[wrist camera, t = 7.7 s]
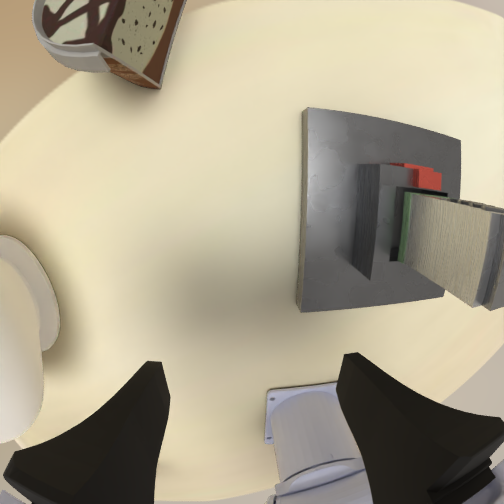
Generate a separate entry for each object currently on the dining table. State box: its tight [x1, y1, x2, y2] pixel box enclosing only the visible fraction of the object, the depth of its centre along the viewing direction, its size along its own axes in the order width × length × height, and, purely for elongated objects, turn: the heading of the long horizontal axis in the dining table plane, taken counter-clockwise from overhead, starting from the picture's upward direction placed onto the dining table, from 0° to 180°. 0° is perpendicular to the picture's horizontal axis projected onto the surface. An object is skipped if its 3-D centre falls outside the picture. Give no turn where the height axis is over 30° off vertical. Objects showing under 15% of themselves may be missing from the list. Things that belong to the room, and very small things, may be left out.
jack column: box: [397, 192, 504, 311], centre depth 11 cm, size 4×4×7 cm
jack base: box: [296, 107, 461, 312], centre depth 17 cm, size 14×14×5 cm
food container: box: [32, 0, 187, 89], centre depth 9 cm, size 12×6×10 cm, turn 171°
